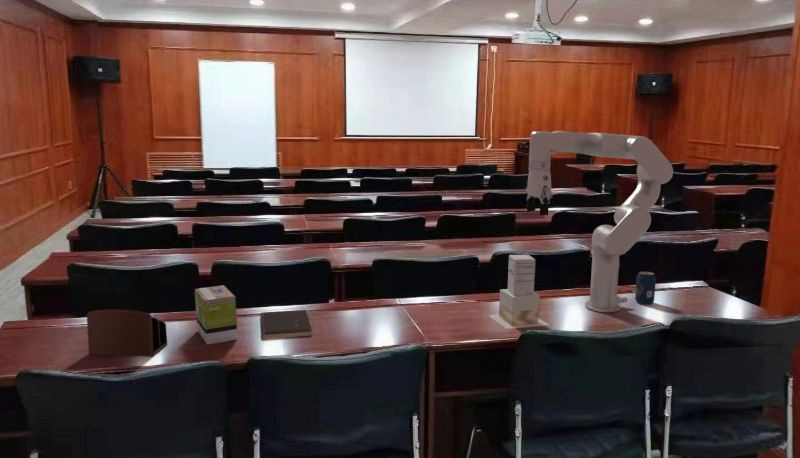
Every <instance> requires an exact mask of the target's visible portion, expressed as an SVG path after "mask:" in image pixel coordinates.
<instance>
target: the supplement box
mask: <svg viewBox="0 0 800 458" xmlns="http://www.w3.org/2000/svg"><path fill="white" fill-rule="evenodd" d="M507 268H508V272H507V275H508V276H507V289H508V290H509V291H510V292H511V293H512V294H513V295H534V292H535V275H536V259H535V258H534V257H533V256H531V255H529V254H509V255H508V267H507Z"/></svg>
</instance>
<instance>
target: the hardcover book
mask: <svg viewBox="0 0 800 458" xmlns="http://www.w3.org/2000/svg"><path fill="white" fill-rule="evenodd" d="M260 328H261V329H260V330H261V333H260V334H261V339H262V340H265V339H268V340H269V339H277V338H281V339H282V338H294V337H305V336H306V337H308V336H312V332H313V329H312V327H311V323H310V319H309V316H308V313H307V310H306V309H297V310H295V309H293V310H282V311H281V310H279V311H263V312H260Z"/></svg>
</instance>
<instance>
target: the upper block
mask: <svg viewBox="0 0 800 458" xmlns="http://www.w3.org/2000/svg"><path fill="white" fill-rule="evenodd" d="M499 304H501V305H503V306H504V307H506V308H507V309H509V310H510V311H512V312H513V311H526V310H538V309H539V310H540V295H539V294H538V293H536V292H535V291H534V295H513V294H512V293H511V292H510V291H509V290H508V288H503V289H499Z"/></svg>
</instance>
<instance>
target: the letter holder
mask: <svg viewBox="0 0 800 458" xmlns="http://www.w3.org/2000/svg"><path fill="white" fill-rule="evenodd" d="M86 325H87V327H86V328H87V343H88V344H87V345H88V354H89V355H97V356H121V357H123V356H124V357H125V356H126V357H147V358H148V357H151V358H152V357H154V356H155V355H157V354H158V353H159V352H160V351H162V350H163V349H164V348H166V347H167V346H168V336H167V335H168V334H167V324H166V322H165V321H163V320H159V319H158V318H156V317H152V314H151V313H148V312H145V311H138V310H130V309H116V308H115V309H113V308H112V309H97V310H91V311H88V312H87V314H86Z"/></svg>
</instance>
